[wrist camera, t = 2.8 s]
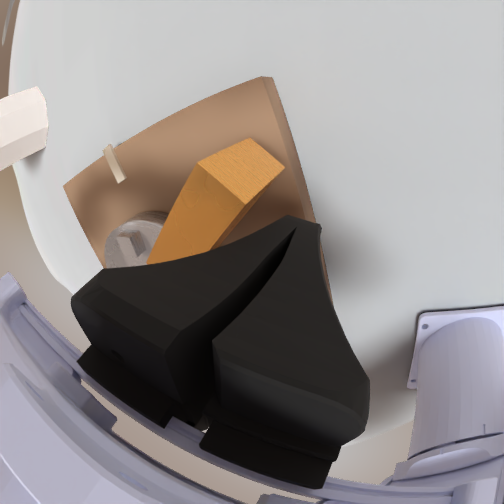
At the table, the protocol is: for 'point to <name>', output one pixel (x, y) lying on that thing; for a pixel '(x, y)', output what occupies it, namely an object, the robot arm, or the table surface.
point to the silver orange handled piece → (197, 209)
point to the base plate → (192, 165)
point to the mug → (22, 125)
